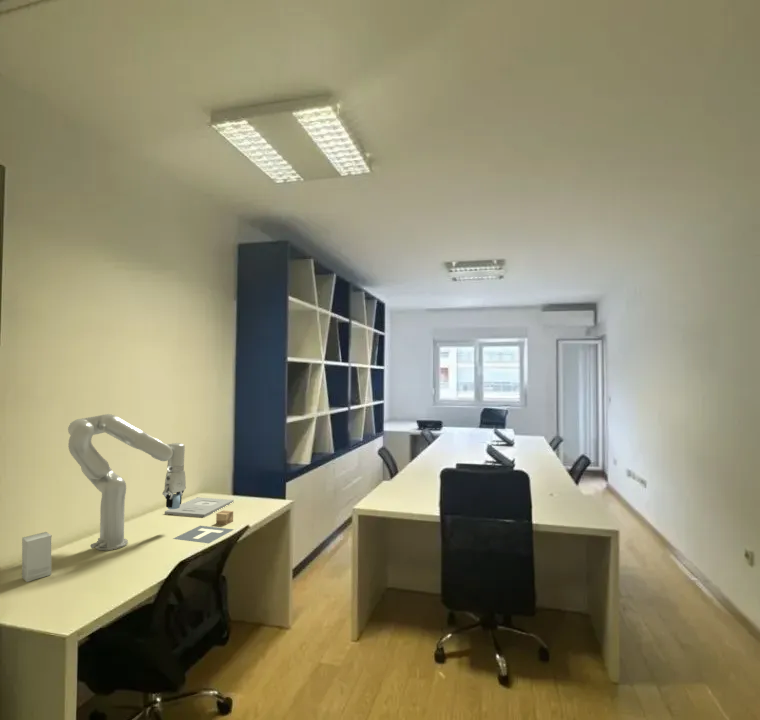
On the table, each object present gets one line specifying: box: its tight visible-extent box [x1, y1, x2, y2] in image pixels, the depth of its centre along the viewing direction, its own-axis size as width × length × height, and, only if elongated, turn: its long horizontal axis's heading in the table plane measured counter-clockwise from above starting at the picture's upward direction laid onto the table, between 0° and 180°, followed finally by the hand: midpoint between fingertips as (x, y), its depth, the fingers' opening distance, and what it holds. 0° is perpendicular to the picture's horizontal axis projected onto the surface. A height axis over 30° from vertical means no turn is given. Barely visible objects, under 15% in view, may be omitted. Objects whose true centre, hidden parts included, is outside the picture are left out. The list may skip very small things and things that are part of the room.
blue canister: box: [166, 493, 181, 510], centre depth 233 cm, size 6×6×6 cm
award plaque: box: [164, 497, 234, 518], centre depth 273 cm, size 25×30×2 cm
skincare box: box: [21, 531, 52, 583], centre depth 182 cm, size 8×7×16 cm
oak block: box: [215, 509, 234, 526], centre depth 245 cm, size 6×6×6 cm
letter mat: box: [172, 525, 235, 544], centre depth 228 cm, size 20×20×1 cm
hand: (173, 505), depth 232 cm, fingers closed on blue canister, 5 cm apart
